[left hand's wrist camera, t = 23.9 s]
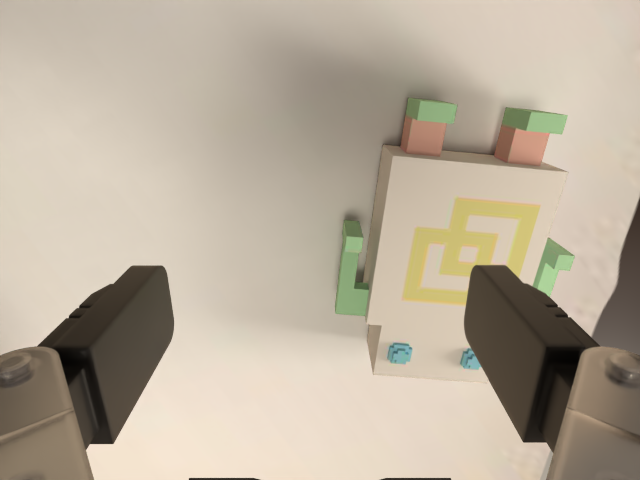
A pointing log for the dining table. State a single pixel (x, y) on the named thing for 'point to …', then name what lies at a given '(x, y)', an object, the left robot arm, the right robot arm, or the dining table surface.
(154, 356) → the left robot arm
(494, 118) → the dining table surface
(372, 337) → the decorative block
